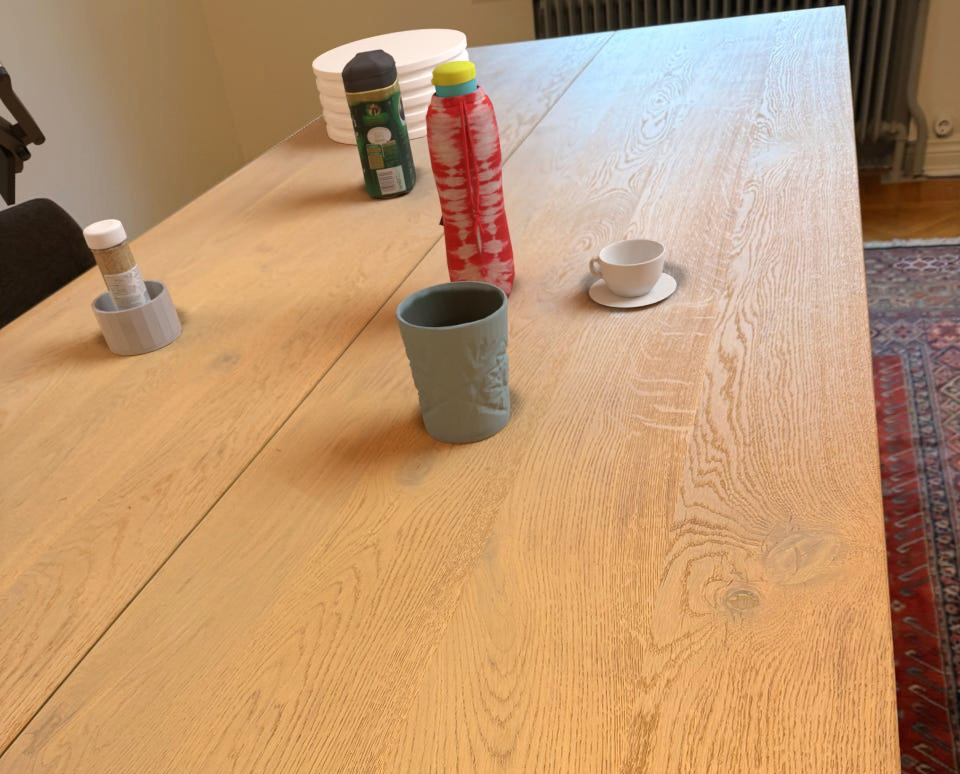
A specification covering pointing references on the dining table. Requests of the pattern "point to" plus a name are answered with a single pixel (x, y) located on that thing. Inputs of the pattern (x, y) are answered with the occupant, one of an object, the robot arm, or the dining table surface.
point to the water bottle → (469, 177)
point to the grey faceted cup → (139, 322)
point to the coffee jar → (379, 123)
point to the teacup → (631, 274)
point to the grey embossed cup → (458, 358)
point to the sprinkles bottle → (116, 264)
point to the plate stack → (414, 72)
